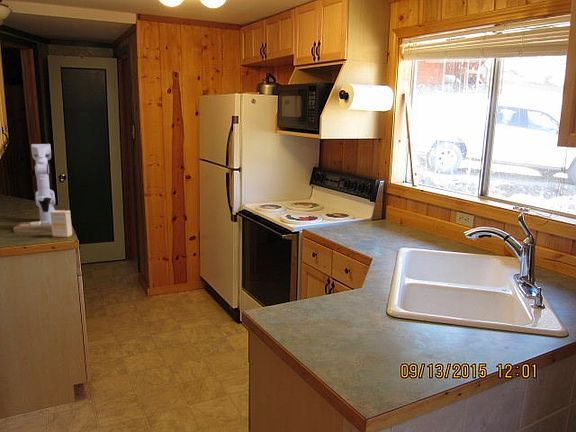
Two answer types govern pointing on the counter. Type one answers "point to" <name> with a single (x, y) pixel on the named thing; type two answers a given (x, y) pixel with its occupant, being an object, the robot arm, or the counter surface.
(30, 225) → the cream key
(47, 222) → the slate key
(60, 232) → the supplement box
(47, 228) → the key panel
